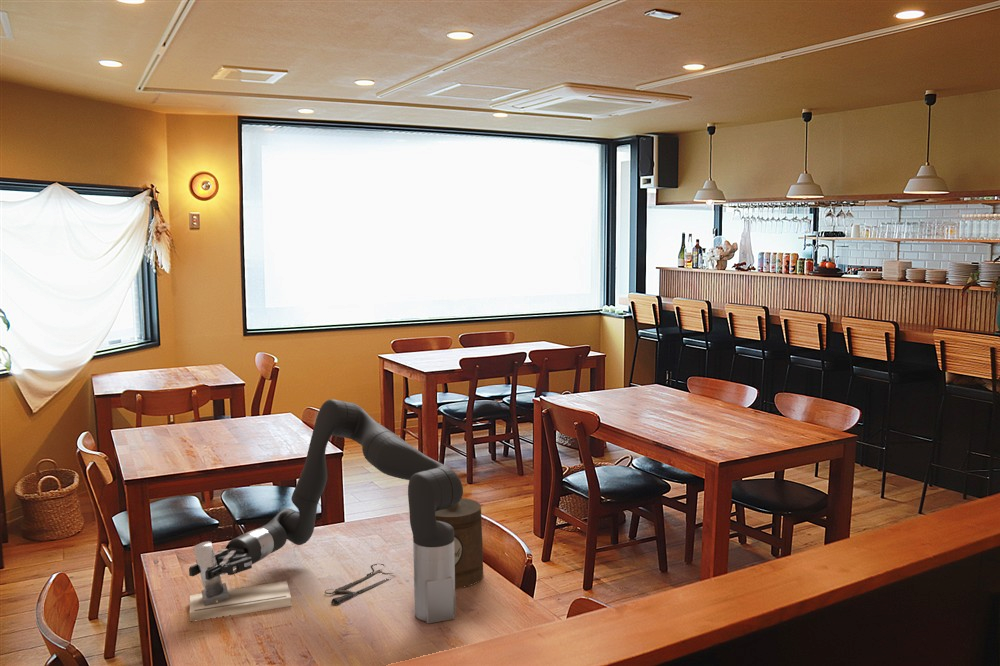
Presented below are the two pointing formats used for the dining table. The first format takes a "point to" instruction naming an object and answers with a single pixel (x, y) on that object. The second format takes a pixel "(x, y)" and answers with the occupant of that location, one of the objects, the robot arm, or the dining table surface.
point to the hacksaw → (349, 593)
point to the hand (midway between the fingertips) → (198, 573)
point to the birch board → (242, 601)
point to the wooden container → (465, 540)
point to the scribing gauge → (214, 586)
